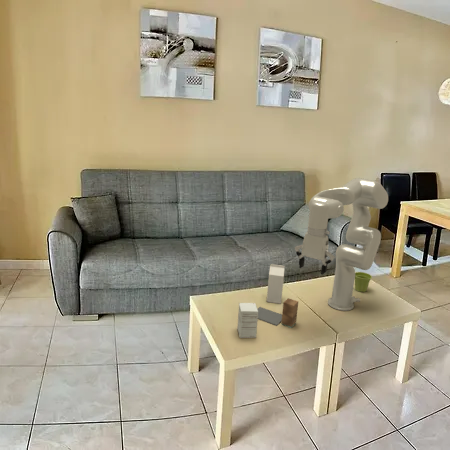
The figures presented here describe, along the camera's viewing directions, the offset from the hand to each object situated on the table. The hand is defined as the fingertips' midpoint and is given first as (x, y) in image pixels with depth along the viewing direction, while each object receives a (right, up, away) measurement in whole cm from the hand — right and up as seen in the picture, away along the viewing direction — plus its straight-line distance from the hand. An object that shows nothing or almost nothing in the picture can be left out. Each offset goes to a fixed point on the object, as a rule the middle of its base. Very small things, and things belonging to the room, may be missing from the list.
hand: (312, 270), depth 163 cm
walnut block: (-8, -26, +12) cm, 29 cm away
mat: (-17, -24, +17) cm, 34 cm away
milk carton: (-12, -19, +34) cm, 41 cm away
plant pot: (+38, -17, +50) cm, 65 cm away
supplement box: (-27, -28, +3) cm, 39 cm away
